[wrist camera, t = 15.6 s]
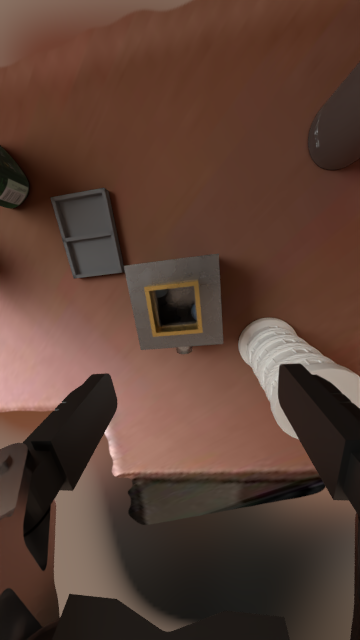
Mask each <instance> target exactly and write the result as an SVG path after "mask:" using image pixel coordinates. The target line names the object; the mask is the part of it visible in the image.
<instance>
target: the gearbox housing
mask: <svg viewBox="0 0 360 640" xmlns="http://www.w3.org/2000/svg"><path fill="white" fill-rule="evenodd" d="M124 269H125V274H126V279H127V284H128V289H129V294H130V299H131V304H132V309H133V313H134V318H135V323H136V328H137V333H138V338H139V343H140V348H141V350H146V349H160V348H174V347H176V348H177V353H179V354H188V353H190V352H191V351H192V346H201V345H214V344H223V327H222V308H221V289H220V271H219V254H212V255H205V256H197V257H189V258H181V259H173V260H166V261H158V262H150V263H142V264H135V265H127V266H124ZM162 289H168V291H167V293H166V294H165V295H164V296H163V297H160V298H157V295H156V290H162ZM194 304H195V310H196V320H195V319H194V318H193V316H192V314H191V309H192V306H193V305H194Z"/></svg>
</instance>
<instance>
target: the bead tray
mask: <svg viewBox="0 0 360 640" xmlns="http://www.w3.org/2000/svg"><path fill="white" fill-rule="evenodd" d="M50 198H51V202H52V205H53V208H54V212H55V215H56V219H57V222H58V226H59V229H60V233H61V236H62V240H63V243H64V246H65V250H66V253H67V257H68V260H69V264H70V267H71V271H72V274H73V278H82V277H90V276H98V275H106V274H114V273H122V272H125V270H124V265H123V260H122V255H121V250H120V245H119V241H118V236H117V231H116V226H115V221H114V216H113V211H112V206H111V201H110V197H109V192H108V190H106V189H105V188H100V189H94V190H89V191H83V192H78V193H72V194H67V195H61V196H56V197H50Z"/></svg>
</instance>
